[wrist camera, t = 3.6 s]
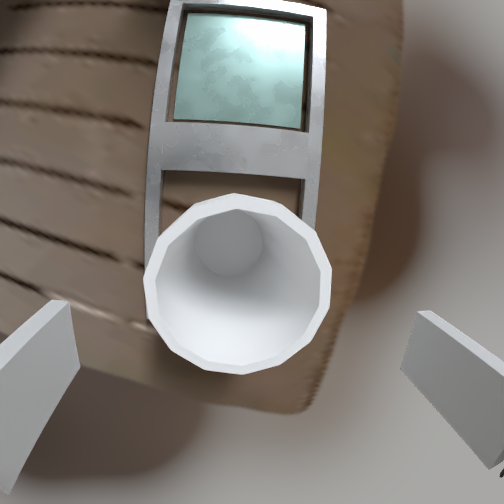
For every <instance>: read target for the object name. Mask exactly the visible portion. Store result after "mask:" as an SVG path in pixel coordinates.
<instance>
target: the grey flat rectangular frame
mask: <svg viewBox="0 0 504 504" xmlns="http://www.w3.org/2000/svg"><path fill="white" fill-rule="evenodd" d="M184 10H206V11H227V12H241V13H251V14H260V15H268V16H275V17H282V18H288V19H294V20H300V21H305V22H310V33H309V62H308V84H307V103H306V120H305V132H298V131H290V130H282V129H273V128H264V127H253V126H241V125H228V124H211V123H186V122H168V115H169V106H170V97H171V89H172V81H173V74H174V66H175V60H176V53H177V47H178V40H179V35H180V29H181V23H182V18H183V12H184ZM304 45H305V24H300V23H294V22H288V21H282V20H275V19H268V18H260V17H251V16H240V15H227V14H206V13H188V18H187V23H186V29H185V35H184V41H183V47H182V54H181V61H180V68H179V75H178V83H177V91H176V100H175V109H174V118H173V119H176V120H207V121H225V122H239V123H251V124H261V125H271V126H280V127H288V128H296V129H300V122H301V106H302V88H303V68H304ZM325 66H326V10H325V9H321V8H316V7H311V6H307V5H301V4H296V3H290V2H284V1H278V0H170V5H169V9H168V14H167V19H166V24H165V29H164V34H163V40H162V45H161V51H160V57H159V63H158V70H157V77H156V84H155V91H154V99H153V108H152V117H151V126H150V137H149V149H148V163H147V179H146V201H145V271H146V268H147V266H148V263H149V260H150V257H151V255H152V252H153V249H154V247H155V244H156V241H157V239H158V237H159V236H160V235H161V222H162V196H163V177H164V170H179V171H204V172H222V173H238V174H252V175H265V176H276V177H287V178H297V179H301V188H300V200H299V211H298V218H299V219H301V220H302V221H303V222H304V223H306V224H307V225H308V226H309V227H311V228H312V229H313V230H314V228H315V218H316V208H317V198H318V186H319V175H320V162H321V148H322V133H323V115H324V94H325ZM146 315H147V319H149V318H148V311H147V304H146Z"/></svg>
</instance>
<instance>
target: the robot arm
mask: <svg viewBox="0 0 504 504" xmlns="http://www.w3.org/2000/svg"><path fill="white" fill-rule="evenodd" d="M79 368H80V363H79V358H78V353H77V348H76V343H75V337H74V331H73V325H72V318H71V311H70V303H69V302H68V301H59V300H51V301H50V302H48V303H47V304H46V305H45V306H44V307H42V308H41V309H40V310H39V311H38V312H37V313H35V314H34V315H33V316H32V317H31V318H30V319H28V320H27V321H26V322H25V323H24V324H23V325H21V326H20V327H19V328H18V329H17V330H16V331H15V332H14V333H12V334H11V335H10V336H9V337H8V338H7V339H6V340H5V341H4V342H3V343H1V344H0V492H2V493H4V494H6V495H8V496H9V494H10V492H11V490H12V487H13V485H14V483H15V481H16V479H17V477H18V475H19V473H20V471H21V469H22V467H23V465H24V463H25V461H26V459H27V457H28V456H29V454H30V452H31V450H32V448H33V446H34V444H35V442H36V441H37V439H38V437H39V435H40V434H41V432H42V430H43V428H44V426H45V425H46V423H47V421H48V419H49V418H50V416H51V414H52V412H53V411H54V409H55V407H56V406H57V404H58V402H59V401H60V399H61V397H62V396H63V394H64V392H65V391H66V389H67V387H68V386H69V384H70V382H71V381H72V379H73V377H74V376H75V374H76V373H77V371H78V370H79ZM400 370H401V371H402V372H403V373H404V374H405V375H406V376H407V377H408V379H409V380H410V381H411V382H412V383H413V384H414V385H415V386H416V387H417V388H418V390H419V391H420V392H421V393H422V394H423V395H424V396H425V397H426V398H427V399H428V400H429V402H430V403H431V404H432V405H433V406H434V407H435V408H436V410H437V411H438V412H439V413H440V414H441V415H442V416H443V417H444V419H445V420H446V421H447V422H448V423H449V424H450V425H451V427H452V428H453V429H454V430H455V431H456V432H457V433H458V435H459V436H460V437H461V438H462V439H463V440H464V441H465V443H466V444H467V445H468V446H469V447H470V448H471V449H472V451H473V452H474V453H475V454H476V455H477V456H478V458H479V459H480V460H481V461H482V462H483V463H484V465H485V466H486V467H487V468H488V469H491V468H492V467H494V466H496V465H498V464H499V463H501V462H502V461H503V460H504V362H503V361H502V360H500V359H499V358H497V357H496V356H495V355H493V354H492V353H490V352H489V351H488V350H486V349H485V348H484V347H482V346H481V345H479V344H478V343H477V342H475V341H474V340H472V339H470V338H469V337H468V336H467V335H465V334H464V333H462V332H461V331H459V330H458V329H457V328H455V327H454V326H452V325H451V324H449V323H448V322H446V321H445V320H443V319H442V318H441V317H439V316H438V315H436V314H435V313H433V312H432V311H417V312H416V316H415V320H414V324H413V328H412V331H411V335H410V338H409V342H408V345H407V349H406V352H405V356H404V359H403V362H402V365H401V368H400ZM503 476H504V469H503V470H502V472H501V473H500V477H503Z"/></svg>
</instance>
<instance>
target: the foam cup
mask: <svg viewBox="0 0 504 504" xmlns="http://www.w3.org/2000/svg"><path fill="white" fill-rule="evenodd" d="M331 275H332V268H331V266H330V263H329V261H328V259H327V256H326V254H325V252H324V249H323V247H322V245H321V243H320V240H319V238H318V236H317V234H316V231H314V230H313V229H312V228H311V227H309V226H308V225H307V224H306V223H304V222H303V221H302V220H301V219H299V218H298V217H297V216H296V215H294V214H293V213H292V212H291V211H289V210H288V209H287V208H286V207H284V206H283V205H282V204H279V203H277V202H274V201H271V200H266V199H261V198H256V197H251V196H246V195H241V194H236V193H232V194H228V195H224V196H221V197H217V198H213V199H210V200H206V201H202V202H199V203H195V204H194V205H193V206H192V207H190V208H189V209H188V210H187V211H186V212H185V213H184V214H183V215H181V216H180V217H179V218H178V219H177V220H176V221H175V222H174V223H173V224H171V225H170V226H169V227H168V228H167V229H166V230H165V231H164V232H163V233H162V234H161V235H160V236H159V237H158V239H157V241H156V244H155V247H154V249H153V252H152V255H151V257H150V260H149V263H148V266H147V268H146V271H145V274H144V277H143V281H144V289H145V297H146V304H147V311H148V318H149V319H150V321H151V322H152V324H153V325H154V327H155V328H156V330H157V331H158V333H159V334H160V336H161V337H162V338H163V340H164V341H165V343H166V344H167V346H168V347H169V348H170V350H171V351H173V352H175V353H176V354H178V355H180V356H181V357H183V358H185V359H186V360H188V361H190V362H192V363H193V364H195V365H197V366H199V367H200V368H202V369H204V370H209V371H217V372H225V373H233V374H242V375H243V374H247V373H251V372H255V371H259V370H262V369H266V368H270V367H273V366H277V365H280V364H282V363H283V362H284V361H286V360H287V359H288V358H290V357H291V356H292V355H294V354H295V353H296V352H298V351H299V350H300V349H301V348H303V347H304V346H305V345H307V344H308V343H309V342H310V341H311V340H312V338H313V336H314V335H315V333H316V331H317V329H318V328H319V326H320V324H321V322H322V320H323V318H324V317H325V315H326V313H327V311H328V309H329V307H330V292H331Z"/></svg>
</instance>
